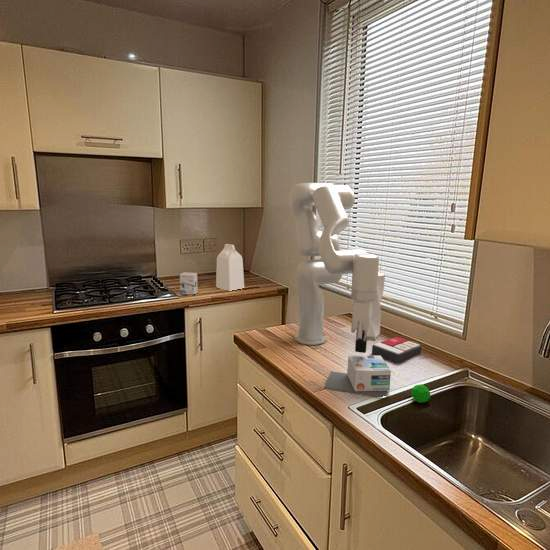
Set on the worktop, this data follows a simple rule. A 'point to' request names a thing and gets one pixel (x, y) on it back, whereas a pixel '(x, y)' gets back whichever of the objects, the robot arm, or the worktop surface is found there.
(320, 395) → the worktop surface
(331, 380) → the mat
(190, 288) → the ink box
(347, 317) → the worktop surface
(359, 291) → the robot arm
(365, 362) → the light bulb box
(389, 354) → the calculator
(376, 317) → the skyscraper
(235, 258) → the milk
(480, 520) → the worktop surface
